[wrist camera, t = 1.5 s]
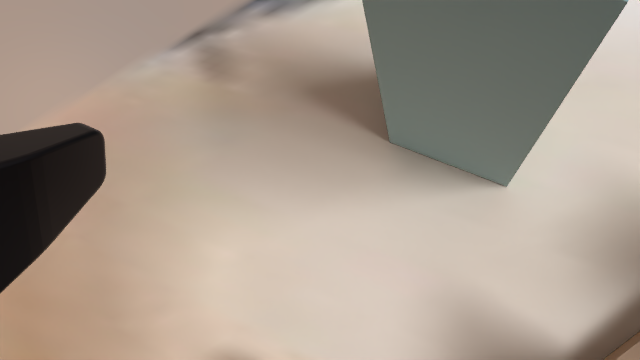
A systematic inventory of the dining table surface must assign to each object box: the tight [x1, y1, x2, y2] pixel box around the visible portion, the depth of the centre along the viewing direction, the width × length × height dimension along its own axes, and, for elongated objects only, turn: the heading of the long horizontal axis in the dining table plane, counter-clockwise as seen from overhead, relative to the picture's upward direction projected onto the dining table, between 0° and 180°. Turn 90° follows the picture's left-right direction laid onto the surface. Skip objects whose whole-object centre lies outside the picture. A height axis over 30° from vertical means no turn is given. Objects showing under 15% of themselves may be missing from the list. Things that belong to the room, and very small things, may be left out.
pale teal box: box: [362, 0, 628, 187], centre depth 16 cm, size 3×4×13 cm, turn 66°
